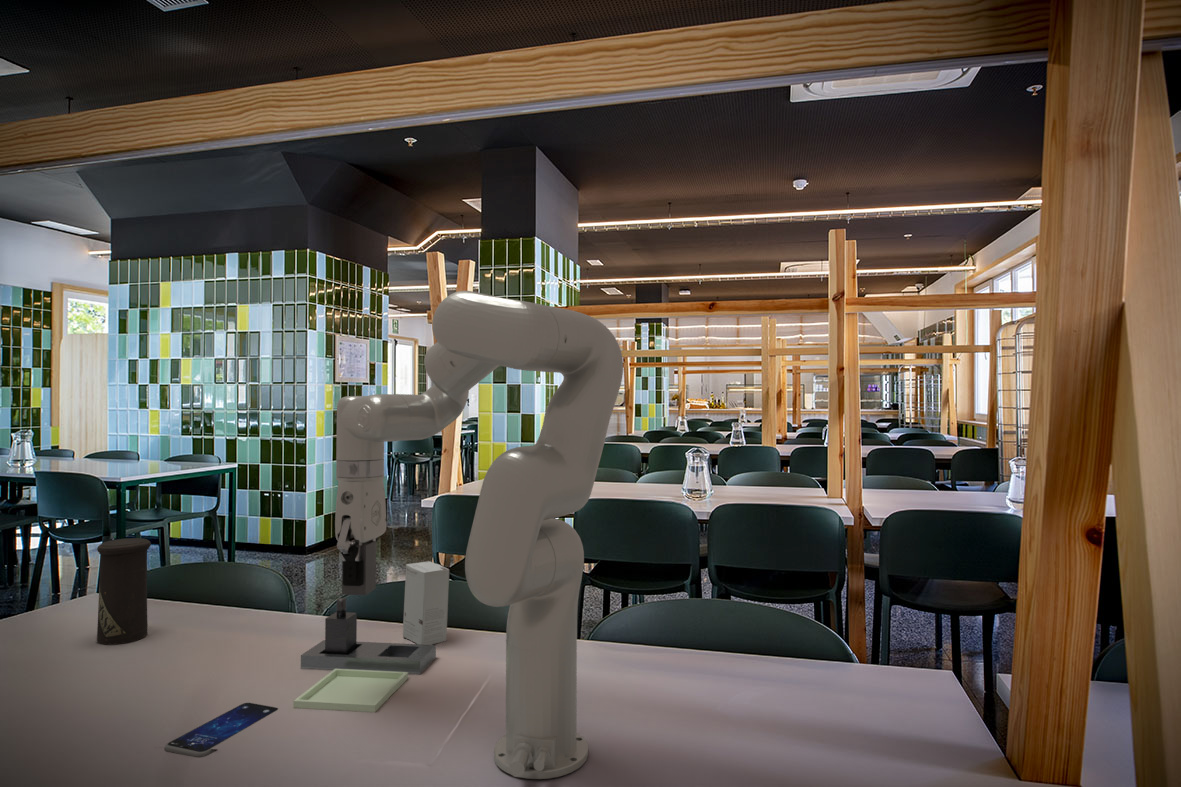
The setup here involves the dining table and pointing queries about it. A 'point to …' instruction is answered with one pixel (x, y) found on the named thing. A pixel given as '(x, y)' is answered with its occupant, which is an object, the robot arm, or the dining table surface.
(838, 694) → the dining table surface
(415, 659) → the grey two-slot holder
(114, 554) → the container
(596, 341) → the robot arm
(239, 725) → the smartphone
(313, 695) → the tray
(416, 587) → the skincare box
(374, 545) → the plug
